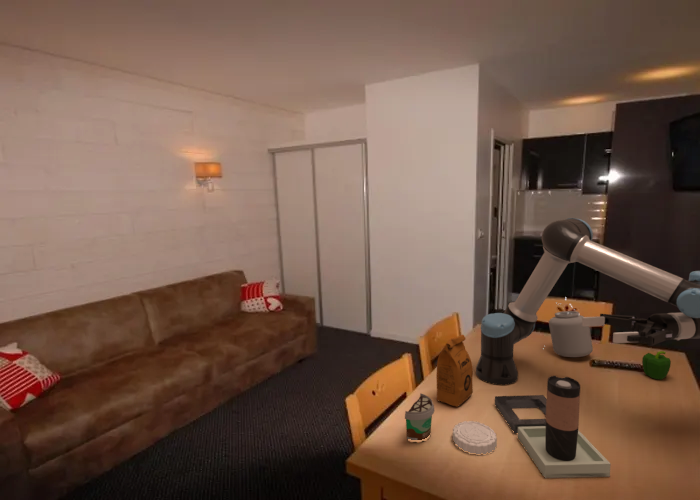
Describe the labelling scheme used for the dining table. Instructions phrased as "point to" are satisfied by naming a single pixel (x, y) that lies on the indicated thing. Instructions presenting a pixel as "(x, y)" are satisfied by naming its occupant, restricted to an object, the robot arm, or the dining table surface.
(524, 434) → the tray
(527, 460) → the dining table surface
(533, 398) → the holder frame
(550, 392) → the travel mug
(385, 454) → the dining table surface
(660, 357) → the bell pepper
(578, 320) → the jar
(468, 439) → the mooncake
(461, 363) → the coffee package
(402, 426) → the dining table surface
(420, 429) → the food container
